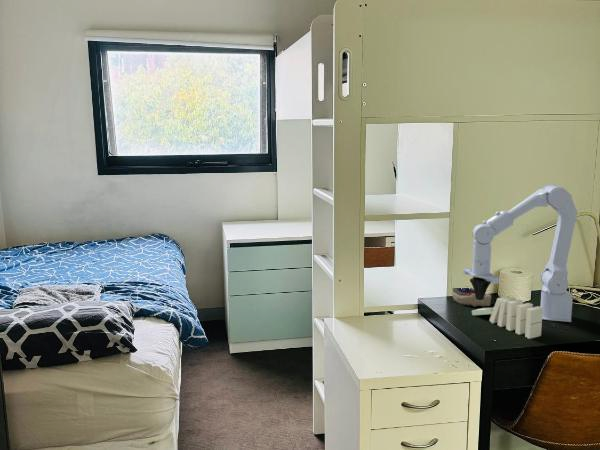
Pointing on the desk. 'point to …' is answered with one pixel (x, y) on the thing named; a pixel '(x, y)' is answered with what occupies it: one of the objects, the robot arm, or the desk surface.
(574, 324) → the desk surface
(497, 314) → the domino
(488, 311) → the domino
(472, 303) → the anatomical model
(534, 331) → the domino
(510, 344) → the desk surface
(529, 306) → the domino
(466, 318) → the desk surface
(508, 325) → the domino
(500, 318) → the domino
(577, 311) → the desk surface
